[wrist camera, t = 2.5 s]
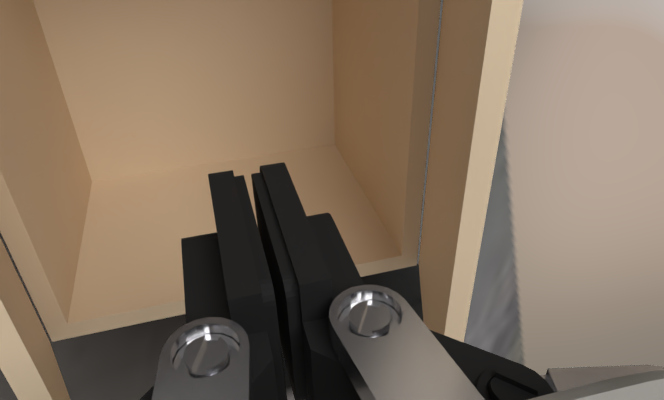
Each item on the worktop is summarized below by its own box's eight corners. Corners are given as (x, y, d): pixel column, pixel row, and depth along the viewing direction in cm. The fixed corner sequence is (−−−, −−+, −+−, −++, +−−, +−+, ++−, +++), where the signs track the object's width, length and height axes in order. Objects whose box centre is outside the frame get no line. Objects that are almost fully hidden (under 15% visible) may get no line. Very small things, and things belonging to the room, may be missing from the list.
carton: (-73, -263, 20) (-277, -354, 10) (340, -258, 23) (469, -323, 14) (82, 190, 31) (52, 341, 22) (344, 149, 35) (416, 265, 25)
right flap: (418, 264, 25) (431, 265, 25) (432, 419, 18) (449, 420, 18) (472, -309, 14) (495, -310, 14) (554, -439, 7) (600, -441, 7)
